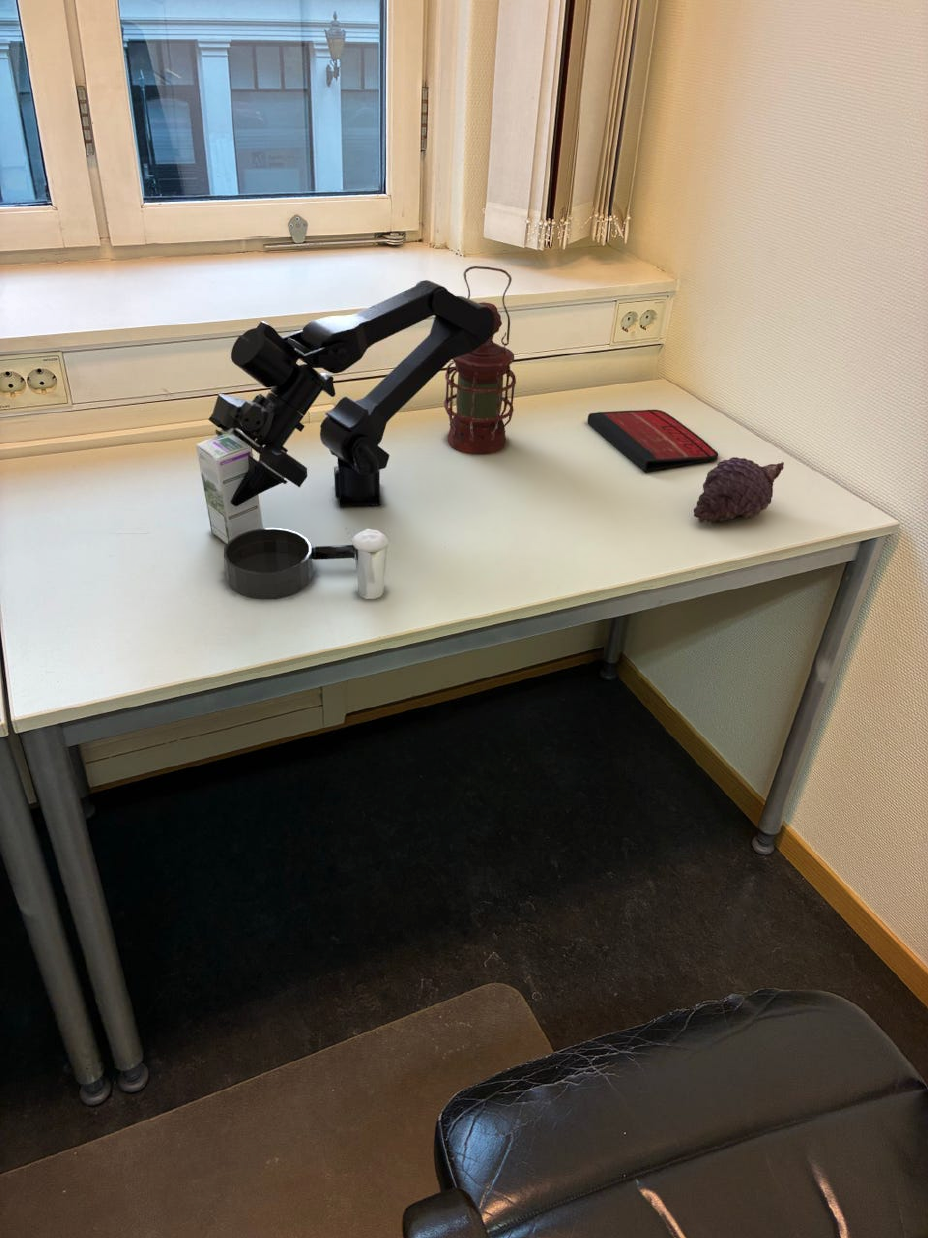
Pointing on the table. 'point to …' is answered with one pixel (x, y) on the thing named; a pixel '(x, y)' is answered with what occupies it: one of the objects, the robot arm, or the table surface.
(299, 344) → the robot arm
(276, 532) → the pan
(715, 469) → the pine cone
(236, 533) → the syrup box
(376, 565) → the milkshake
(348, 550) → the pan handle
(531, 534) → the table surface
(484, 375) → the lantern
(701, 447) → the binder
